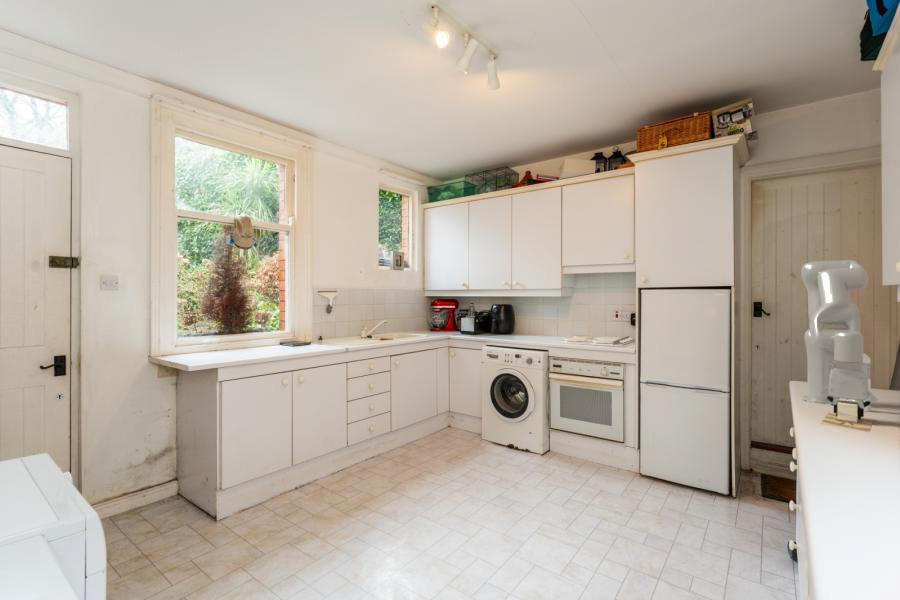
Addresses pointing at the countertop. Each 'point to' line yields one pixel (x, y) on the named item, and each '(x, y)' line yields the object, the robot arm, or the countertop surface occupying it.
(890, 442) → the countertop surface
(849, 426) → the oak board
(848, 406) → the block
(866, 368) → the water bottle
